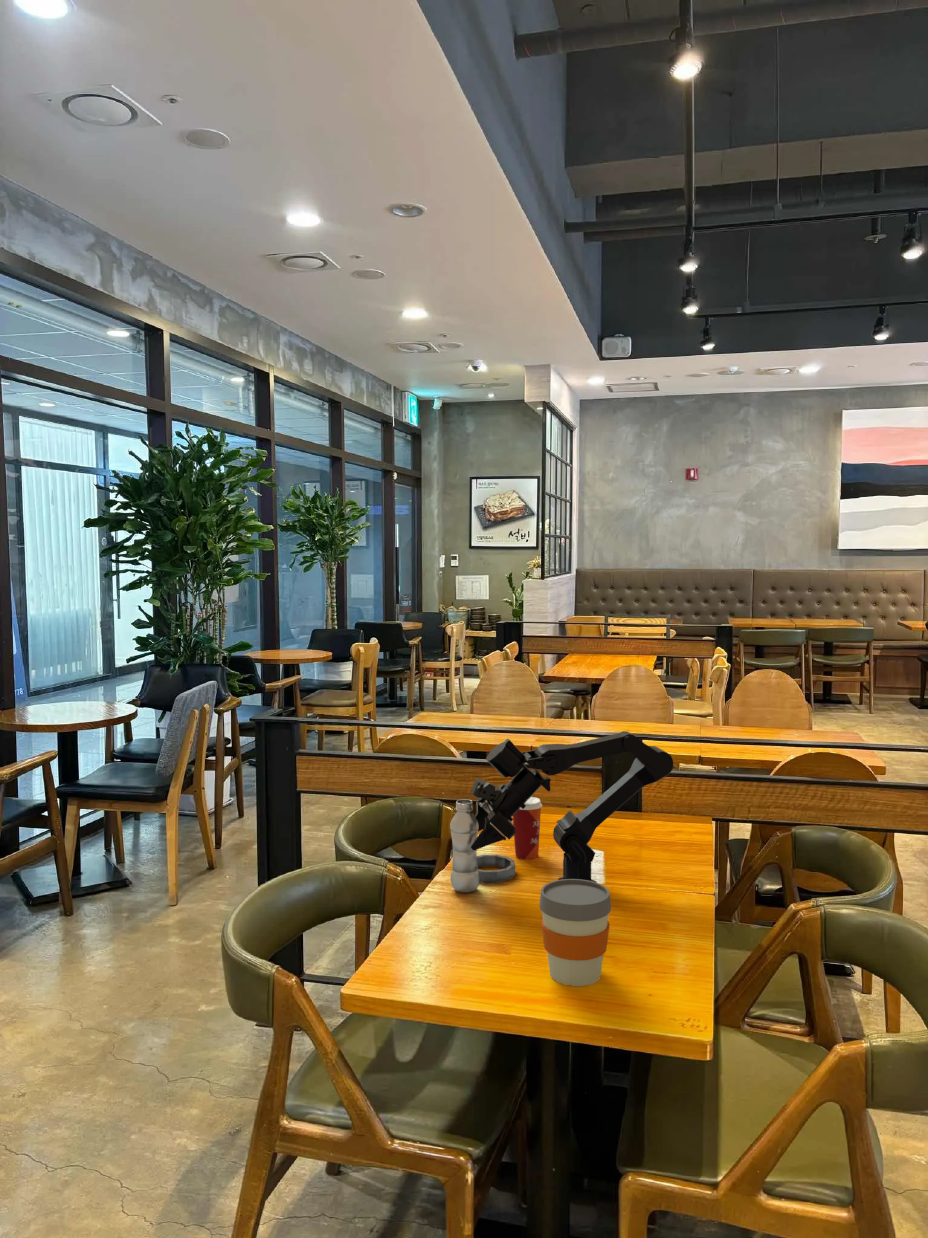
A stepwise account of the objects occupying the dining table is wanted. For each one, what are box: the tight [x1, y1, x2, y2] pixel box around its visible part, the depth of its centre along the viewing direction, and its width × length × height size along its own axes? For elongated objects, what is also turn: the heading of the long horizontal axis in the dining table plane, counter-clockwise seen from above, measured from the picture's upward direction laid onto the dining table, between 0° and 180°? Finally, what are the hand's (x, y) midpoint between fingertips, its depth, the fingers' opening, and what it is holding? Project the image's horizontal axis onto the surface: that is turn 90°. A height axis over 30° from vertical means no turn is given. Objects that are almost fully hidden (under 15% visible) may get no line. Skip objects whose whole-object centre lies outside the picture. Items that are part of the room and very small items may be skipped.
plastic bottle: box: [449, 799, 480, 893], centre depth 195 cm, size 6×7×20 cm
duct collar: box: [477, 854, 516, 884], centre depth 205 cm, size 12×12×2 cm
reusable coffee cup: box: [538, 879, 612, 987], centre depth 155 cm, size 13×13×15 cm
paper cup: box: [512, 796, 543, 861], centre depth 217 cm, size 8×8×14 cm
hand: (469, 842), depth 195 cm, fingers open, 9 cm apart
